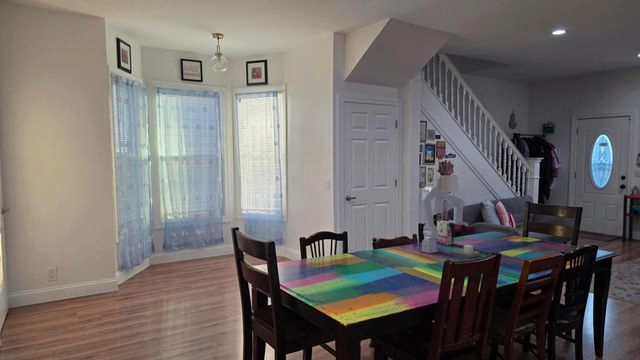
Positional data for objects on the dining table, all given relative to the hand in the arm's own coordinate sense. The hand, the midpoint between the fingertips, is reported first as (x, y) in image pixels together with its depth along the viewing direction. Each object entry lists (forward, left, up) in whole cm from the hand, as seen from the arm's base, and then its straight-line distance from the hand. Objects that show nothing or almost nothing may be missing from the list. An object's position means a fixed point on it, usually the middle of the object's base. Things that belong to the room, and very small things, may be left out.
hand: (457, 234), depth 288 cm
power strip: (-12, -14, -9) cm, 21 cm away
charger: (-12, -16, -9) cm, 22 cm away
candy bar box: (+4, +14, -10) cm, 17 cm away
